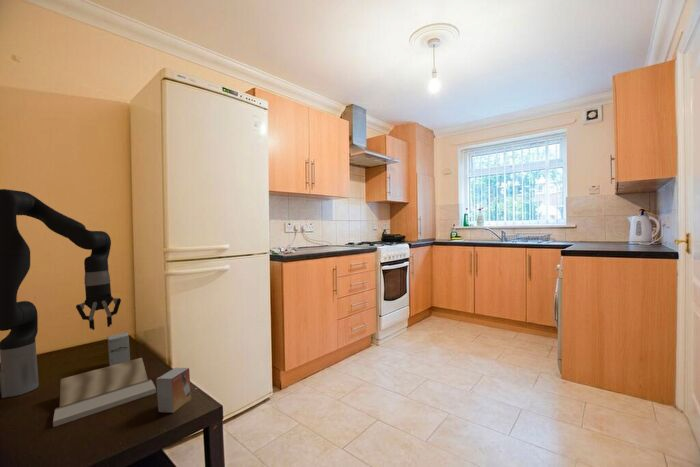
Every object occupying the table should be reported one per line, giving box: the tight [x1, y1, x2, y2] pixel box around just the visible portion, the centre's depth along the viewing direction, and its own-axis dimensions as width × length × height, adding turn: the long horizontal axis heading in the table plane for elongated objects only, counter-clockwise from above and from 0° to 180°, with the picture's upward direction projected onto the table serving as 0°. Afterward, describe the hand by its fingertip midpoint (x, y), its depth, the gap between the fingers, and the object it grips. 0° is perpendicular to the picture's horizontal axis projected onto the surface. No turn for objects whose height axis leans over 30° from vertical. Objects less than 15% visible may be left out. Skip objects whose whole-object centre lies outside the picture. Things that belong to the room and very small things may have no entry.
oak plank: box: [59, 357, 149, 407], centre depth 113 cm, size 24×14×2 cm, turn 131°
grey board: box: [52, 379, 157, 428], centre depth 104 cm, size 26×10×2 cm, turn 131°
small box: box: [155, 367, 192, 414], centre depth 99 cm, size 8×6×10 cm
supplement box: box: [107, 332, 131, 366], centre depth 137 cm, size 7×7×13 cm
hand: (101, 327), depth 119 cm, fingers open, 4 cm apart
